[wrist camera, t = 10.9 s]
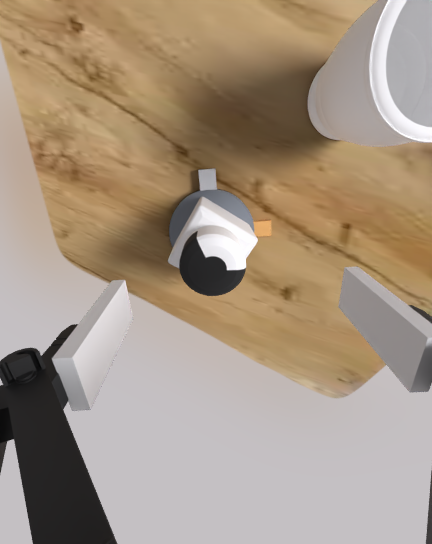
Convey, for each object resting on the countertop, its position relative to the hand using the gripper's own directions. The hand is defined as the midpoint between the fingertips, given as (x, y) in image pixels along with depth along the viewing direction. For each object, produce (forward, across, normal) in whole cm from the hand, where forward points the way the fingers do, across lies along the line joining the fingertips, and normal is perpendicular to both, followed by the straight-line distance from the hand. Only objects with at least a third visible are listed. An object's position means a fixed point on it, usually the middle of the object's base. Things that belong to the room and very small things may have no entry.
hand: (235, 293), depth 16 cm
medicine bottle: (+19, -1, -2) cm, 20 cm away
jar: (+21, +14, +13) cm, 28 cm away
